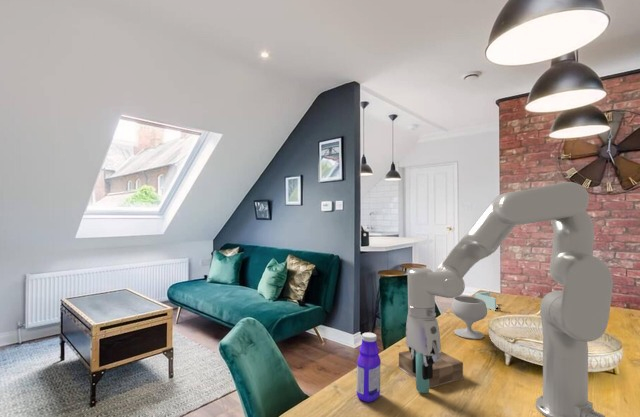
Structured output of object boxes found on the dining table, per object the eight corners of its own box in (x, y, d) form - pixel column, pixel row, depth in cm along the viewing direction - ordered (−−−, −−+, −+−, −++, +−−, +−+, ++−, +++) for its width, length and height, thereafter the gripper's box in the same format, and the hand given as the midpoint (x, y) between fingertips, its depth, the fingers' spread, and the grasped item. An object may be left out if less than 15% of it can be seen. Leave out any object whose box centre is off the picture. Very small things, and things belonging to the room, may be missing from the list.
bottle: (366, 388, 99) (367, 329, 99) (383, 394, 95) (384, 333, 95) (352, 398, 93) (353, 335, 93) (370, 406, 90) (371, 341, 90)
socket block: (463, 378, 105) (463, 362, 105) (428, 388, 99) (428, 371, 99) (431, 359, 118) (431, 345, 118) (397, 367, 112) (398, 352, 112)
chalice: (464, 326, 153) (464, 294, 153) (493, 336, 141) (494, 301, 141) (444, 332, 145) (444, 298, 146) (474, 343, 134) (474, 305, 134)
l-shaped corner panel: (495, 312, 178) (495, 298, 178) (474, 306, 188) (474, 293, 188) (508, 309, 183) (508, 295, 184) (488, 304, 194) (488, 291, 194)
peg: (432, 391, 96) (431, 349, 96) (422, 394, 94) (421, 351, 94) (423, 385, 99) (422, 344, 99) (413, 388, 97) (412, 346, 98)
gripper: (453, 317, 91) (454, 385, 91) (412, 303, 106) (413, 361, 106) (431, 321, 88) (433, 392, 88) (393, 306, 103) (394, 366, 103)
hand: (422, 374), depth 97 cm, fingers closed on peg, 3 cm apart
